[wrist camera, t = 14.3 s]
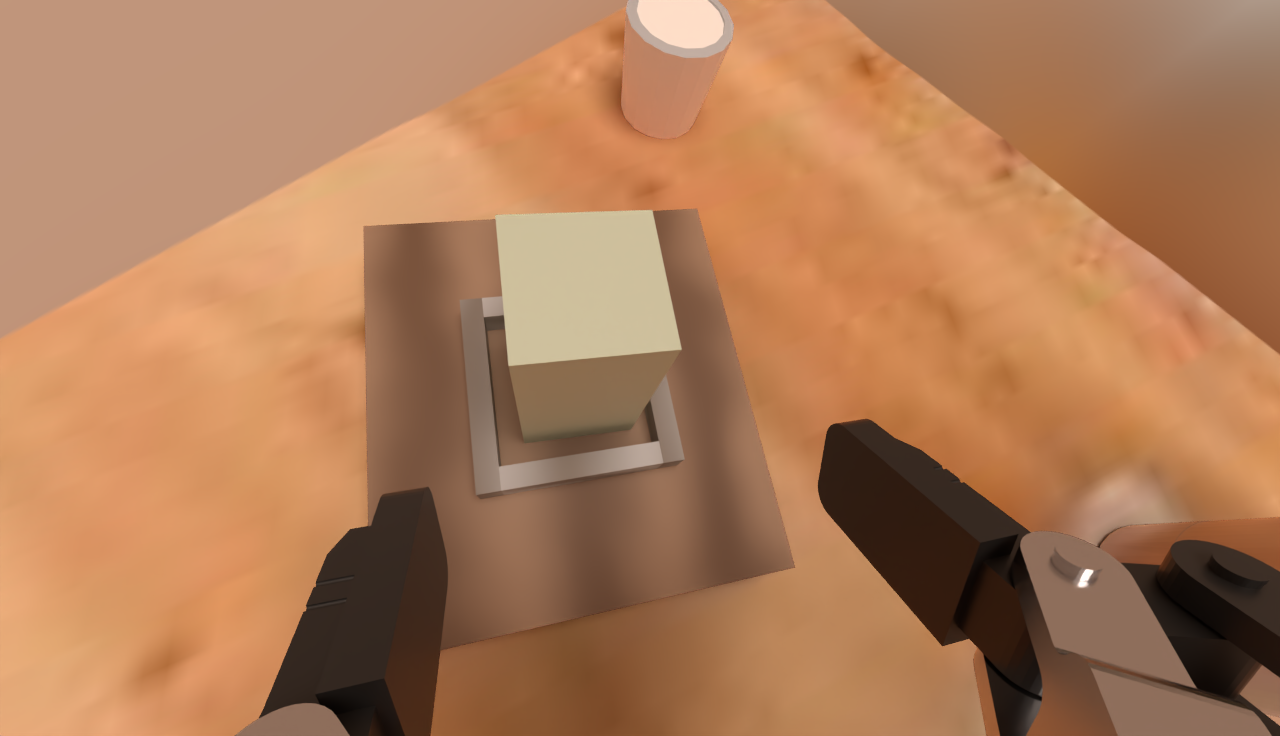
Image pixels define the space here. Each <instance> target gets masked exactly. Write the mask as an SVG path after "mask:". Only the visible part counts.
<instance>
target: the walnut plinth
mask: <svg viewBox="0 0 1280 736" xmlns="http://www.w3.org/2000/svg"><path fill="white" fill-rule="evenodd" d="M653 216H654V220H655V225H656V230H657V235H658V239H659V244H660V249H661V254H662V258H663V263H664V268H665V273H666V277H667V282H668V287H669V291H670V296H671V301H672V306H673V310H674V315H675V320H676V325H677V329H678V334H679V339H680V344H681V348H682V350H681V351H680V353H679V355H678V356H677V358H676V359H675V361H674V362H673V364H672V366H671V367H670V369H669V370H668V372H667V373H666V375H665V377H664V378H663V380H662V381H661V383H660V384H659V386H658V388H657V389H656V391H655V392H654V394H653V395H652V397H651V399H650V400H649V402H648V403H647V405H646V406H645V408H644V410H643V411H642V413H641V414H640V416H639V417H638V419H637V421H636V422H635V424H634V425H633V427H632V428H631V430H625V431H617V432H609V433H601V434H594V435H586V436H578V437H570V438H563V439H555V440H547V441H539V442H531V443H524V439H523V434H522V429H521V425H520V420H519V415H518V410H517V405H516V400H515V395H514V390H513V385H512V381H511V376H510V371H509V366H508V354H507V343H506V332H505V320H504V309H503V298H502V286H501V275H500V264H499V252H498V241H497V229H496V219H492V220H473V221H454V222H435V223H416V224H397V225H377V226H364V285H365V349H366V413H367V477H368V526H371V524H372V521H373V518H374V515H375V512H376V509H377V506H378V503H379V500H380V497H381V496H382V495H383V494H385V493H392V492H398V491H404V490H411V489H417V488H423V487H429V488H430V490H431V492H432V495H433V499H434V504H435V508H436V512H437V516H438V520H439V525H440V529H441V533H442V537H443V541H444V546H445V550H446V555H447V564H448V588H447V597H446V605H445V614H444V623H443V631H442V640H441V648H440V650H443V649H447V648H452V647H456V646H460V645H465V644H469V643H473V642H477V641H482V640H486V639H490V638H495V637H499V636H503V635H507V634H512V633H516V632H520V631H525V630H529V629H533V628H538V627H542V626H546V625H550V624H555V623H559V622H563V621H568V620H572V619H576V618H580V617H585V616H589V615H593V614H598V613H602V612H606V611H610V610H615V609H619V608H623V607H628V606H632V605H636V604H640V603H645V602H649V601H653V600H658V599H662V598H666V597H670V596H675V595H679V594H683V593H688V592H692V591H696V590H700V589H705V588H709V587H713V586H718V585H722V584H726V583H730V582H735V581H739V580H743V579H748V578H752V577H756V576H760V575H765V574H769V573H773V572H778V571H782V570H786V569H790V568H795V565H794V562H793V558H792V554H791V551H790V547H789V543H788V540H787V536H786V532H785V529H784V525H783V521H782V518H781V514H780V510H779V507H778V503H777V499H776V496H775V492H774V488H773V485H772V481H771V477H770V474H769V470H768V466H767V463H766V459H765V455H764V452H763V448H762V444H761V441H760V437H759V433H758V430H757V426H756V423H755V419H754V415H753V412H752V408H751V404H750V401H749V397H748V393H747V390H746V386H745V382H744V379H743V375H742V371H741V368H740V364H739V360H738V357H737V353H736V349H735V346H734V342H733V338H732V335H731V331H730V327H729V324H728V320H727V316H726V313H725V309H724V305H723V302H722V298H721V294H720V291H719V287H718V283H717V280H716V276H715V273H714V269H713V265H712V262H711V258H710V254H709V251H708V247H707V243H706V240H705V236H704V232H703V229H702V225H701V221H700V218H699V214H698V210H697V209H683V210H663V211H653Z"/></svg>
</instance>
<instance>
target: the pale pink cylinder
mask: <svg viewBox="0 0 1280 736" xmlns="http://www.w3.org/2000/svg"><path fill="white" fill-rule="evenodd" d="M733 28H734V24H733V22H732V20H731V17H730V15H729V13H728V10H727V9H726V8H725V7H724V6H723V5H722V4H721V3H720V2H719V1H718V0H628V4H627V8H626V19H625V38H624V57H623V76H622V95H621V108H622V111H623V114H624V117H625V119H626V120H627V121H628V122H629V123H630V124H631V126H632V127H633V128H634V129H636V130H638V131H639V132H641V133H643V134H645V135H646V136H650V137H654V138H658V139H671V138H677V137H679V136H681V135H683V134H685V133H687V132H688V131H689V129H690V128H691V127H692V125H693V124H694V122H695V120H696V118H697V115H698V113H699V111H700V109H701V107H702V104H703V102H704V100H705V98H706V96H707V94H708V91H709V89H710V87H711V85H712V83H713V80H714V78H715V76H716V74H717V72H718V70H719V67H720V65H721V63H722V61H723V59H724V56H725V54H726V52H727V50H728V48H729V46H730V43H731V41H732V38H733Z"/></svg>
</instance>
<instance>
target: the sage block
mask: <svg viewBox="0 0 1280 736" xmlns="http://www.w3.org/2000/svg"><path fill="white" fill-rule="evenodd" d="M495 218H496V229H497V241H498V252H499V264H500V275H501V286H502V298H503V309H504V320H505V332H506V343H507V354H508V366H509V371H510V376H511V381H512V385H513V390H514V395H515V400H516V405H517V410H518V415H519V420H520V425H521V429H522V434H523V439H524V443H531V442H539V441H547V440H555V439H563V438H570V437H578V436H586V435H594V434H601V433H609V432H617V431H625V430H631V428H632V427H633V425H634V424H635V422H636V421H637V419H638V417H639V416H640V414H641V413H642V411H643V410H644V408H645V406H646V405H647V403H648V402H649V400H650V399H651V397H652V395H653V394H654V392H655V391H656V389H657V388H658V386H659V384H660V383H661V381H662V380H663V378H664V377H665V375H666V373H667V372H668V370H669V369H670V367H671V366H672V364H673V362H674V361H675V359H676V358H677V356H678V355H679V353H680V351H681V350H682V348H681V344H680V339H679V334H678V329H677V325H676V320H675V315H674V310H673V306H672V301H671V296H670V291H669V287H668V282H667V277H666V273H665V268H664V263H663V258H662V254H661V249H660V244H659V239H658V235H657V230H656V225H655V220H654V216H653V211H652V210H634V211H603V212H571V213H540V214H509V215H495Z"/></svg>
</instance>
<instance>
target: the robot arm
mask: <svg viewBox="0 0 1280 736" xmlns="http://www.w3.org/2000/svg"><path fill="white" fill-rule="evenodd" d="M818 492H819V497H820V500H821V503H822V505H823V507H824V509H825V510H826V512H827V513H828V514H829V515H830V517H831V518H832V519H833V520H834V521H835V522H836V524H837V525H838V526H839V527H840V528H841V529H842V530H843V532H844V533H845V534H846V535H847V536H848V537H849V539H850V540H851V541H852V542H853V543H854V544H855V546H856V547H857V548H858V549H859V550H860V551H861V552H862V554H863V555H864V556H865V557H866V558H867V559H868V561H869V562H870V563H871V564H872V565H873V566H874V568H875V569H876V570H877V571H878V572H879V573H880V574H881V576H882V577H883V578H884V579H885V580H886V581H887V583H888V584H889V585H890V586H891V587H892V588H893V590H894V591H895V592H896V593H897V594H898V595H899V596H900V598H901V599H902V600H903V601H904V602H905V603H906V605H907V606H908V607H909V608H910V609H911V610H912V612H913V613H914V614H915V615H916V616H917V617H918V618H919V620H920V621H921V622H922V623H923V624H924V625H925V627H926V628H927V629H928V630H929V631H930V632H931V634H932V635H933V636H934V637H935V638H936V639H937V640H938V642H939V643H940V644H941V645H942V646H945V645H948V644H952V643H956V642H959V641H963V640H966V639H970V640H971V641H972V642H973V643H974V644H975V645H976V646H977V649H976V652H975V654H974V658H973V663H974V670H975V675H976V681H977V686H978V692H979V697H980V703H981V708H982V714H983V719H984V725H985V730H986V736H1280V726H1279V725H1278V724H1276V723H1275V722H1274V721H1273V720H1271V719H1270V718H1269V717H1268V716H1266V715H1265V714H1267V715H1271V716H1275V717H1280V517H1273V518H1255V519H1238V520H1220V521H1197V522H1179V523H1162V524H1145V525H1130V526H1126V527H1122V528H1119V529H1117V530H1116V531H1114V532H1112V533H1111V534H1109V535H1108V537H1107V538H1106V539H1105V540H1104V541H1103V543H1102V544H1101V546H1100V548H1098V547H1096V546H1094V545H1092V544H1090V543H1088V542H1086V541H1084V540H1081V539H1079V538H1076V537H1073V536H1070V535H1066V534H1062V533H1057V532H1050V531H1036V532H1030V531H1028V530H1027V529H1026V528H1024V527H1023V526H1022V525H1020V524H1019V523H1018V522H1016V521H1015V520H1014V519H1012V518H1011V517H1010V516H1008V515H1007V514H1006V513H1004V512H1003V511H1002V510H1000V509H999V508H998V507H996V506H995V505H994V504H992V503H991V502H990V501H988V500H987V499H986V498H984V497H983V496H982V495H980V494H979V493H978V492H976V491H975V490H974V489H972V488H971V487H970V486H968V485H967V484H966V483H964V482H963V483H961V482H960V480H959V478H958V477H956V476H955V475H954V474H952V473H951V472H950V471H948V470H947V469H944V470H943V468H942V465H940V464H939V463H938V462H936V461H935V460H934V459H932V458H931V457H930V456H928V455H927V454H926V453H924V452H923V451H922V450H920V449H917V448H915V447H913V446H911V445H909V444H907V443H904V442H902V441H900V440H898V439H896V438H894V437H893V436H891V435H890V434H889V433H887V432H886V431H885V430H883V429H882V428H881V427H880V426H878V425H877V424H876V423H874V422H873V421H871V420H869V419H862V420H856V421H849V422H843V423H837V424H833V425H831V426H830V427H829V429H828V431H827V434H826V440H825V445H824V451H823V457H822V463H821V469H820V475H819V480H818ZM447 588H448V564H447V555H446V550H445V546H444V541H443V537H442V533H441V529H440V525H439V520H438V516H437V512H436V508H435V504H434V499H433V495H432V492H431V490H430V488H429V487H423V488H417V489H411V490H404V491H398V492H392V493H385V494H383V495H382V496H381V497H380V500H379V503H378V506H377V509H376V512H375V515H374V518H373V521H372V524H371V526H366V527H361V528H355V529H350V530H349V531H348V532H347V533H346V534H345V536H344V537H343V538H342V539H341V540H340V541H339V542H338V543H337V544H336V545H335V547H334V548H333V549H332V550H331V551H330V552H329V553H328V554H327V556H326V559H325V561H324V563H323V566H322V568H321V571H320V573H319V576H318V578H317V580H316V587H314V588H313V590H312V593H311V595H310V597H309V600H308V602H307V605H306V607H307V609H306V611H305V612H303V614H302V617H301V619H300V622H299V624H298V626H297V629H296V631H295V634H294V636H293V639H292V641H291V643H290V646H289V648H288V651H287V653H286V656H285V658H284V660H283V663H282V665H281V668H280V670H279V673H278V675H277V677H276V680H275V682H274V685H273V687H272V690H271V692H270V694H269V697H268V699H267V702H266V704H265V707H264V709H263V711H262V713H261V715H260V717H259V719H257V720H256V721H254V722H253V723H251V724H250V725H248V726H247V727H245V728H244V729H243V730H241V731H240V732H239V733H238V734H236V735H235V736H430V734H431V725H432V717H433V708H434V700H435V691H436V683H437V674H438V665H439V657H440V648H441V640H442V631H443V623H444V614H445V605H446V597H447Z"/></svg>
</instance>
